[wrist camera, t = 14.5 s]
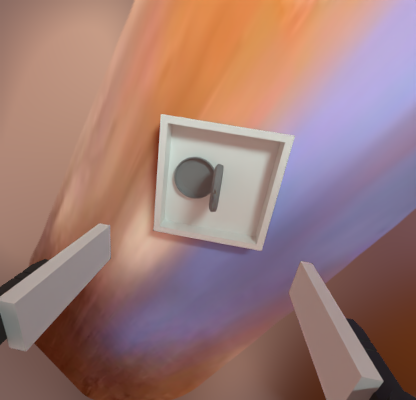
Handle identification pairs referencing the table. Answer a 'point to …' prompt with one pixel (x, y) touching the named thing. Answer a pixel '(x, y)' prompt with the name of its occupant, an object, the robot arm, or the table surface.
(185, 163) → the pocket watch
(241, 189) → the tray
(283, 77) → the table surface
